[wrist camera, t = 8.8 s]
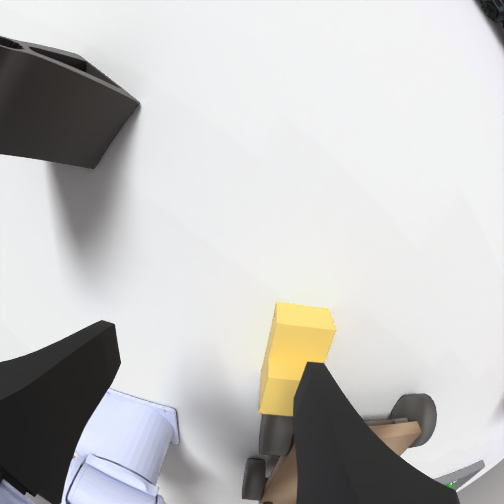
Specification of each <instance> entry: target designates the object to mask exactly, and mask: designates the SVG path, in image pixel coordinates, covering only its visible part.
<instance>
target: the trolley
mask: <svg viewBox="0 0 504 504" xmlns="http://www.w3.org/2000/svg"><path fill="white" fill-rule="evenodd" d="M436 420H437V412H436V406H435V403H434V401H433V400H432V398H431V397H430V396H429V395H427V394H412V395H405V396H403V397H401V398H400V399H399V400H398V402H397V403H396V405H395V407H394V409H393V412H392V415H391V419H389V420H376V421H364V422H365V423H366V424H367V425H368V426H369V428H370V429H371V430H372V431H373V432H374V433H375V434H376V435H377V436H378V437H379V438H380V439H381V440H382V441H383V442H384V443H385V444H386V445H387V446H388V447H389V448H390V449H391V450H393V451H394V452H395V453H396V454H397V455H399V456H400V455H401V454H402V453H403V452H404V451H405V450H406V449H407V448H412V447H417V446H421V445H423V444H425V443H426V442H427V441H428V440H429V439H430V437H431V436H432V434H433V432H434V429H435V426H436ZM259 453H260V454H261V455H273V456H281V457H280V459H279V461H278V462H277V464H276V466H275V468H274V470H273V472H272V474H271V475H270V477H269V478H266V477H265V469H266V467H265V461H264V460H255V459H248V460H247V463H246V467H245V472H244V479H243V486H242V499H248V500H259V504H296V499H297V462H296V451H295V441H294V430H293V416H283V415H272V414H262V420H261V427H260V436H259Z"/></svg>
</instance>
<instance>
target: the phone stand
mask: <svg viewBox="0 0 504 504" xmlns="http://www.w3.org/2000/svg"><path fill="white" fill-rule="evenodd" d="M139 103H140V102H139V101H138V100H136V99H135V98H134V97H133V96H131V95H130V94H129V93H128V92H126V91H125V90H124V89H123V88H121V87H120V86H119V85H117V84H116V83H115V82H114V81H112V80H111V79H110V78H109V77H107V76H105V74H103V73H102V72H101V71H99V70H98V69H97V68H96V67H94V66H93V65H92V64H90V63H89V62H88V61H86V60H85V59H84V58H82V57H81V56H79V55H77V54H75V53H71V52H67V51H64V50H60V49H56V48H51V47H47V46H43V45H38V44H33V43H28V42H22V41H17V40H13V39H9V38H6V37H2V36H0V154H4V155H11V156H18V157H25V158H32V159H39V160H45V161H51V162H57V163H63V164H69V165H75V166H80V167H86V168H91V169H94V168H95V166H96V164H97V163H98V161H99V160H100V158H101V156H102V155H103V153H104V152H105V150H106V149H107V147H108V146H109V144H110V143H111V141H112V140H113V138H114V137H115V135H116V134H117V132H118V131H119V129H120V128H121V127H122V125H123V124H124V122H125V121H126V120H127V118H128V117H129V116H130V114H131V113H132V112H133V110H134V109H135V108H136V106H137V105H138V104H139Z"/></svg>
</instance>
